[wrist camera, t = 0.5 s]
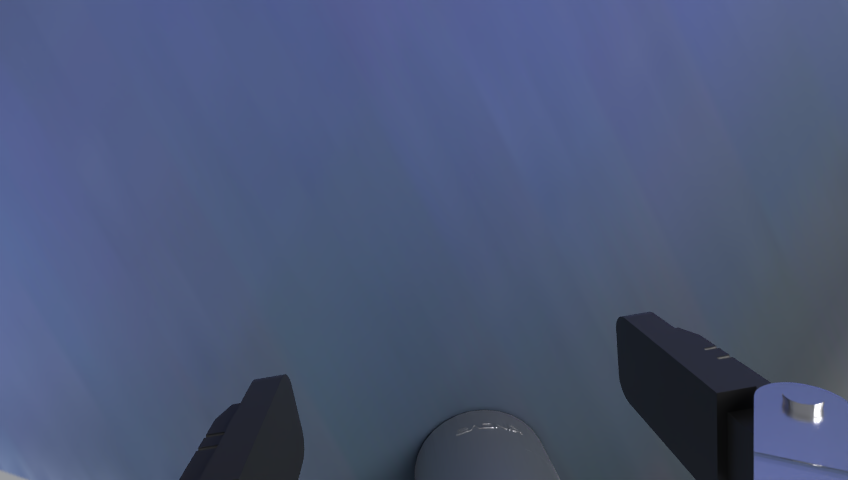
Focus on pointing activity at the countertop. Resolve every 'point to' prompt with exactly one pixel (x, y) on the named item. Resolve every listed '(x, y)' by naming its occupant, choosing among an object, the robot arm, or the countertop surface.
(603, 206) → the countertop surface
